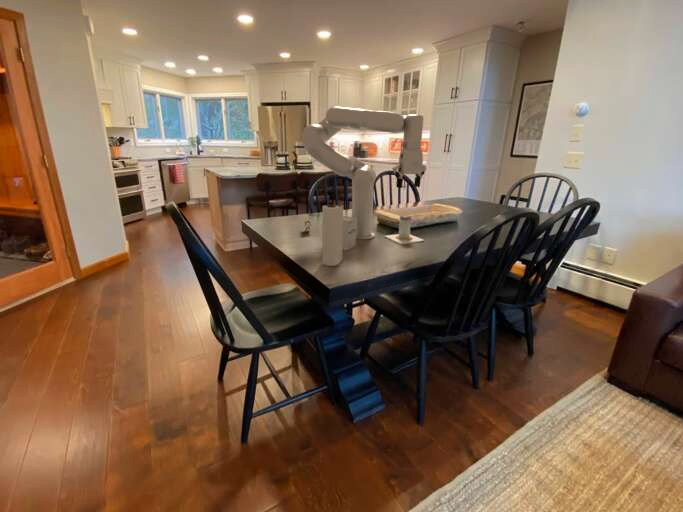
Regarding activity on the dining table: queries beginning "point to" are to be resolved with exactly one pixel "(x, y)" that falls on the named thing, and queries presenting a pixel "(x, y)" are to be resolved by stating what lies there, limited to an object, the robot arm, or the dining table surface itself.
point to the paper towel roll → (332, 234)
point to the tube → (404, 227)
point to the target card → (404, 241)
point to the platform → (307, 224)
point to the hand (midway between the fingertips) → (408, 187)
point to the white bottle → (349, 233)
